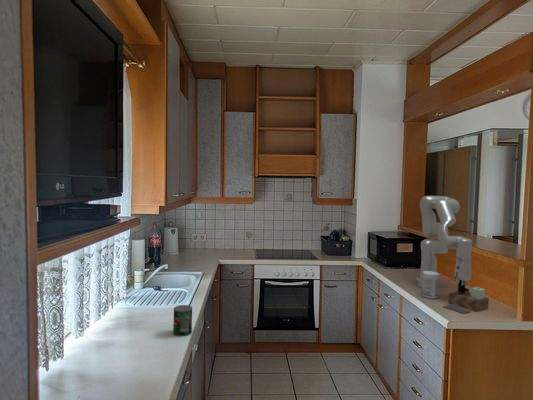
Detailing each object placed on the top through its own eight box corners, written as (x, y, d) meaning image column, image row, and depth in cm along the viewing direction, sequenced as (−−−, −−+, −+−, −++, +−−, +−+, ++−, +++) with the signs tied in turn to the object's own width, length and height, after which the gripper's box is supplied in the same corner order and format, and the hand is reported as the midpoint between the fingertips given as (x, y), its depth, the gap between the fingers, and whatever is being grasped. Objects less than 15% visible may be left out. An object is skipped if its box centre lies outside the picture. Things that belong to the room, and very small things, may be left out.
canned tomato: (169, 333, 171) (169, 308, 170) (183, 327, 177) (184, 303, 177) (181, 338, 166) (181, 312, 166) (195, 332, 172) (196, 307, 172)
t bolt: (457, 291, 231) (457, 285, 230) (463, 289, 234) (463, 284, 234) (469, 294, 225) (469, 289, 225) (474, 292, 228) (475, 287, 228)
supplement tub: (433, 294, 244) (435, 270, 243) (441, 299, 235) (443, 274, 234) (418, 294, 244) (420, 270, 243) (425, 298, 234) (427, 274, 233)
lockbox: (448, 303, 228) (449, 292, 227) (460, 300, 234) (461, 290, 234) (476, 311, 214) (476, 300, 214) (488, 308, 221) (488, 297, 220)
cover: (470, 296, 220) (471, 286, 220) (475, 295, 223) (476, 285, 223) (479, 299, 216) (480, 289, 216) (484, 298, 219) (485, 287, 218)
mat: (443, 307, 220) (443, 306, 220) (450, 305, 223) (450, 304, 223) (463, 314, 210) (463, 313, 210) (471, 312, 213) (471, 311, 213)
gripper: (462, 262, 218) (459, 295, 219) (477, 260, 226) (474, 291, 227) (449, 259, 225) (447, 291, 226) (464, 257, 233) (462, 288, 234)
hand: (461, 291), depth 227 cm, fingers closed
